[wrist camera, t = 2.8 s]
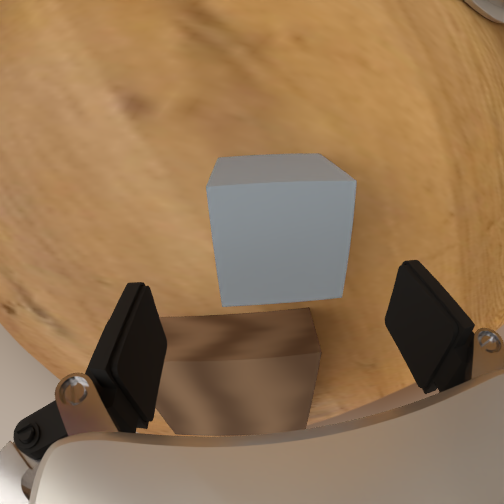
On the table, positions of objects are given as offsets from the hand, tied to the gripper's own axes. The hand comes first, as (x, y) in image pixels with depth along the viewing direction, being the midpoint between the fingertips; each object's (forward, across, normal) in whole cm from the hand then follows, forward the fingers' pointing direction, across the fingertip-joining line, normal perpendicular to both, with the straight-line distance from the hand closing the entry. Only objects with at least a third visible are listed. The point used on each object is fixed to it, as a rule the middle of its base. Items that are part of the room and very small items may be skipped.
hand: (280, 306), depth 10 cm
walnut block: (+10, +3, +15) cm, 18 cm away
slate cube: (+9, -1, -1) cm, 9 cm away
